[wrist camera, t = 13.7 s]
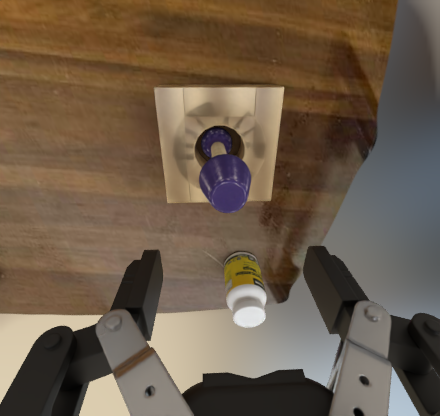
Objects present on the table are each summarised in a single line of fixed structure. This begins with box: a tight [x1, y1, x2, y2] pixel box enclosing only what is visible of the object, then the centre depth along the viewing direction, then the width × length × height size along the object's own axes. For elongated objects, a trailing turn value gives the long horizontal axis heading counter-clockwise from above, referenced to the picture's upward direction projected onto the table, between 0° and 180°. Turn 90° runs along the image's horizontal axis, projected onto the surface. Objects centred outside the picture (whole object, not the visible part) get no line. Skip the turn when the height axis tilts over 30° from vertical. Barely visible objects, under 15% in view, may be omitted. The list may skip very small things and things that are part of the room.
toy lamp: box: [199, 127, 251, 213], centre depth 26 cm, size 5×5×17 cm
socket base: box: [154, 84, 284, 203], centre depth 32 cm, size 14×14×4 cm
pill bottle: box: [224, 252, 266, 327], centre depth 40 cm, size 6×6×11 cm
